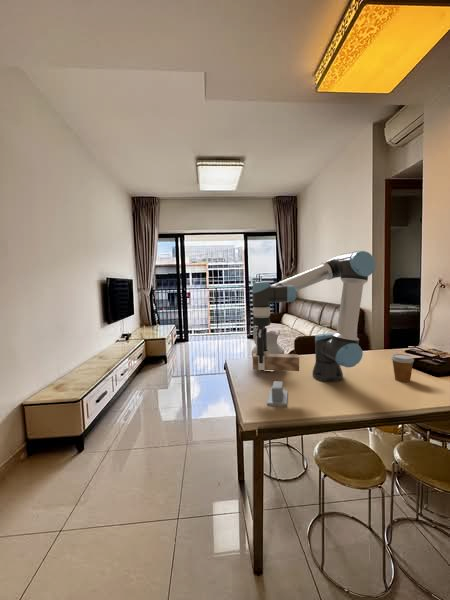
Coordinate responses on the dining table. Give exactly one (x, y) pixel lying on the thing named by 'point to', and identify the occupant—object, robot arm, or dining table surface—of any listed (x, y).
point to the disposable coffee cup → (402, 367)
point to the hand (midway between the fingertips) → (262, 367)
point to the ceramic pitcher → (269, 342)
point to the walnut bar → (278, 362)
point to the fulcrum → (277, 395)
